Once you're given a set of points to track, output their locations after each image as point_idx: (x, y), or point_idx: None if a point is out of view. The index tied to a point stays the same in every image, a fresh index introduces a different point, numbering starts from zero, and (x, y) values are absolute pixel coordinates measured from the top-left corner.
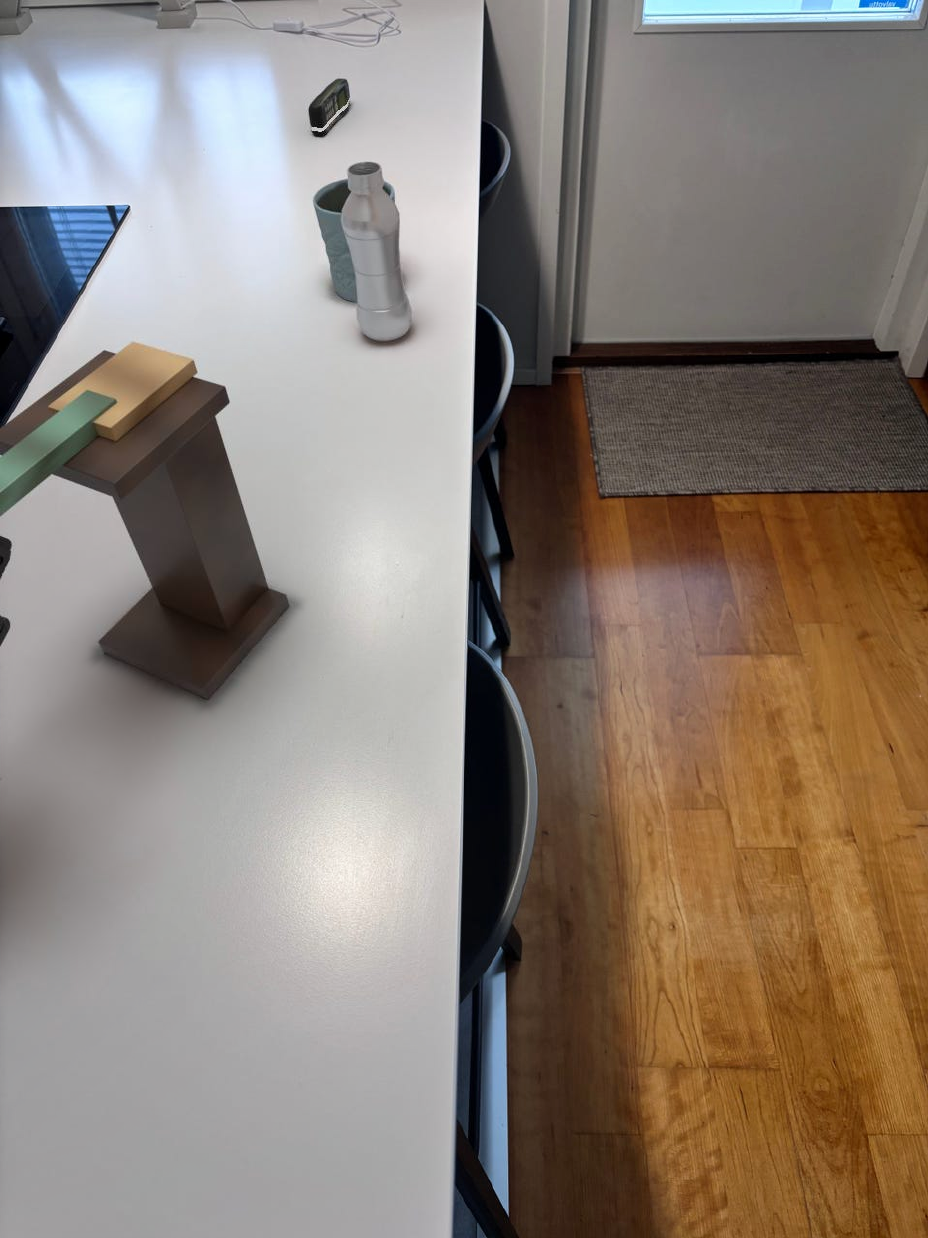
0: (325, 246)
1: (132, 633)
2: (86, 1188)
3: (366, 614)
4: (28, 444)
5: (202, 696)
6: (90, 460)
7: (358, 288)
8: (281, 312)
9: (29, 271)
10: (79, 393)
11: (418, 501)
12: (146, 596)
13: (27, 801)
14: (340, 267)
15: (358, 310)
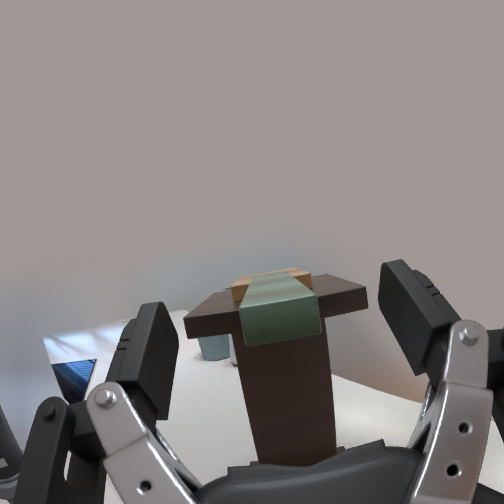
0: (200, 340)
1: None
2: None
3: (388, 431)
4: (262, 282)
5: None
6: (315, 293)
7: (232, 341)
8: (187, 370)
9: (64, 378)
10: (246, 281)
11: (340, 393)
12: None
13: None
14: (210, 345)
15: (233, 352)
